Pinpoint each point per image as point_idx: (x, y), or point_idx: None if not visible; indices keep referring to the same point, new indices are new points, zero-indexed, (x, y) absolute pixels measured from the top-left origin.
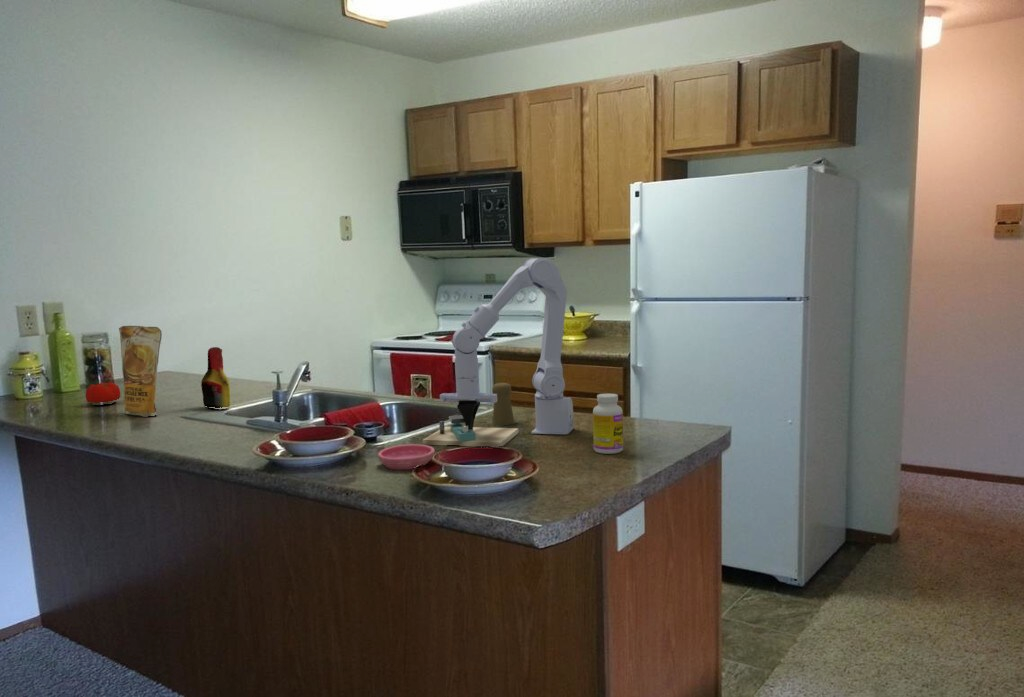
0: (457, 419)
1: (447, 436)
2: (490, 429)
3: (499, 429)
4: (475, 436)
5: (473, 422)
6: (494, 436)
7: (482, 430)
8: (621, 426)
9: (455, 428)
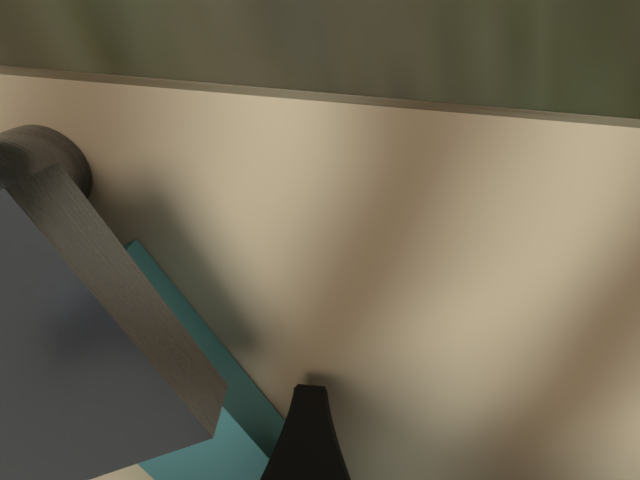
0: (89, 471)
1: (140, 478)
2: (507, 222)
3: (625, 219)
4: (386, 475)
5: (338, 456)
6: (557, 473)
7: (412, 274)
8: None
9: (155, 467)
